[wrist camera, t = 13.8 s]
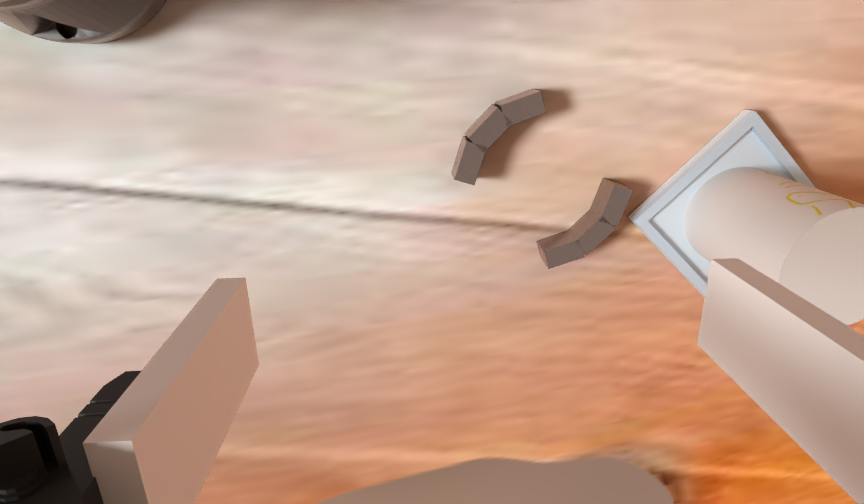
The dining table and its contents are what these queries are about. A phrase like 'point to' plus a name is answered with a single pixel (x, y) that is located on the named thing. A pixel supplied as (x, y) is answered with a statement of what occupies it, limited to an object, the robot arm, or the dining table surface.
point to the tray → (728, 149)
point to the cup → (784, 236)
